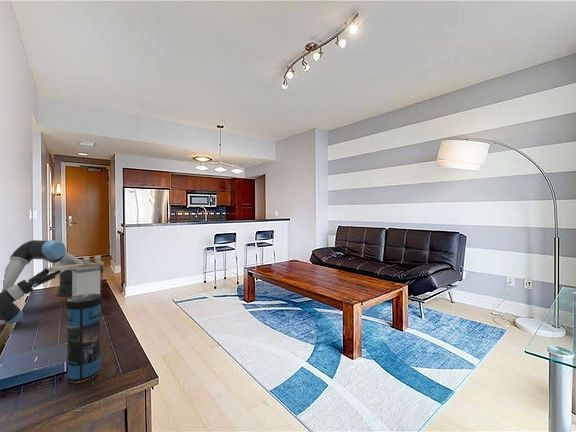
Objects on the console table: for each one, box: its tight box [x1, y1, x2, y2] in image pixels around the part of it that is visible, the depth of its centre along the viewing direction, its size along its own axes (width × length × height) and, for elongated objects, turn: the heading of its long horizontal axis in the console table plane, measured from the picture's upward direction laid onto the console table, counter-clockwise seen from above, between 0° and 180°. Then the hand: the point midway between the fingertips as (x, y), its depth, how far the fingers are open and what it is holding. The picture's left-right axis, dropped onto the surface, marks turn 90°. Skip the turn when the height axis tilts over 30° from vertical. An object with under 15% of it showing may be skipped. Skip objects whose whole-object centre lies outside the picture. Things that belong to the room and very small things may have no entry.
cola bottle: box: [92, 256, 104, 297], centre depth 204 cm, size 8×8×30 cm
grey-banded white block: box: [71, 266, 101, 297], centre depth 177 cm, size 12×12×28 cm
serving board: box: [49, 255, 105, 273], centre depth 174 cm, size 4×26×6 cm, turn 138°
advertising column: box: [65, 294, 103, 382], centre depth 109 cm, size 11×11×30 cm
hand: (63, 265), depth 168 cm, fingers open, 13 cm apart
